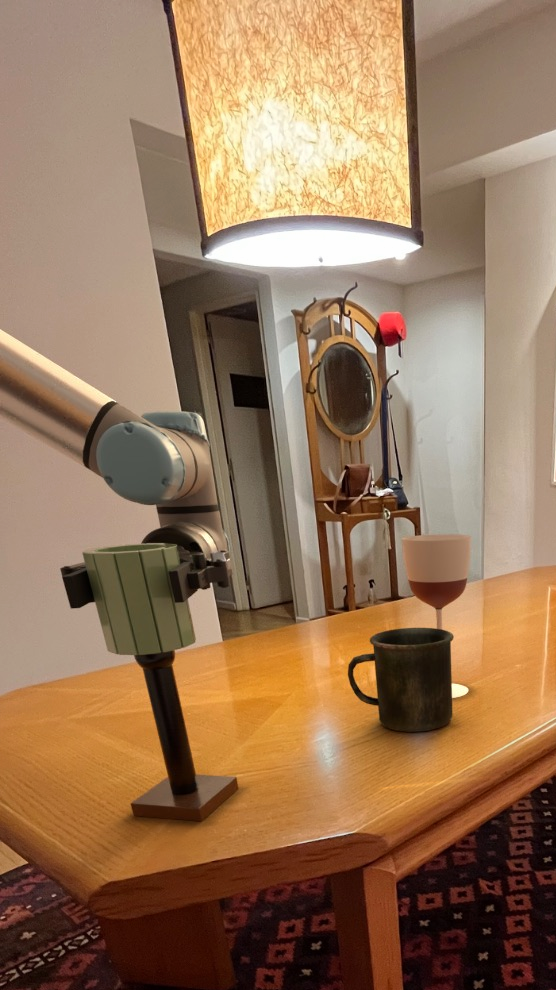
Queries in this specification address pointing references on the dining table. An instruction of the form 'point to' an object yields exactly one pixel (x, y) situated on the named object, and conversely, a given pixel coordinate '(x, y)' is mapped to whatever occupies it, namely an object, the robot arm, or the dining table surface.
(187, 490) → the robot arm
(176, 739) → the post stand
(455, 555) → the wineglass
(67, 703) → the dining table surface
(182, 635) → the ribbed green pot
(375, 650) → the mug
